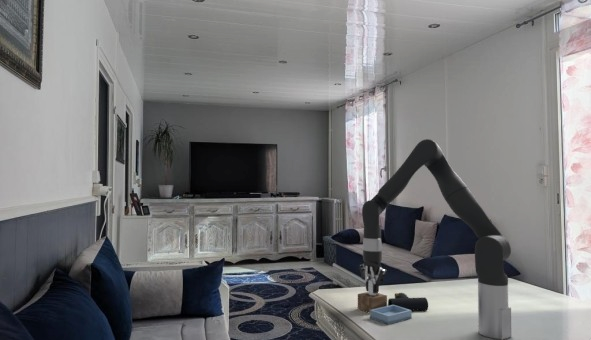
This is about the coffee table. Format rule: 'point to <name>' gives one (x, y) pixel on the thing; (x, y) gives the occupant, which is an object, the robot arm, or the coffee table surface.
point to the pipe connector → (408, 302)
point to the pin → (370, 288)
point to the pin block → (371, 301)
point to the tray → (390, 314)
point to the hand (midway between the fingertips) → (372, 291)
